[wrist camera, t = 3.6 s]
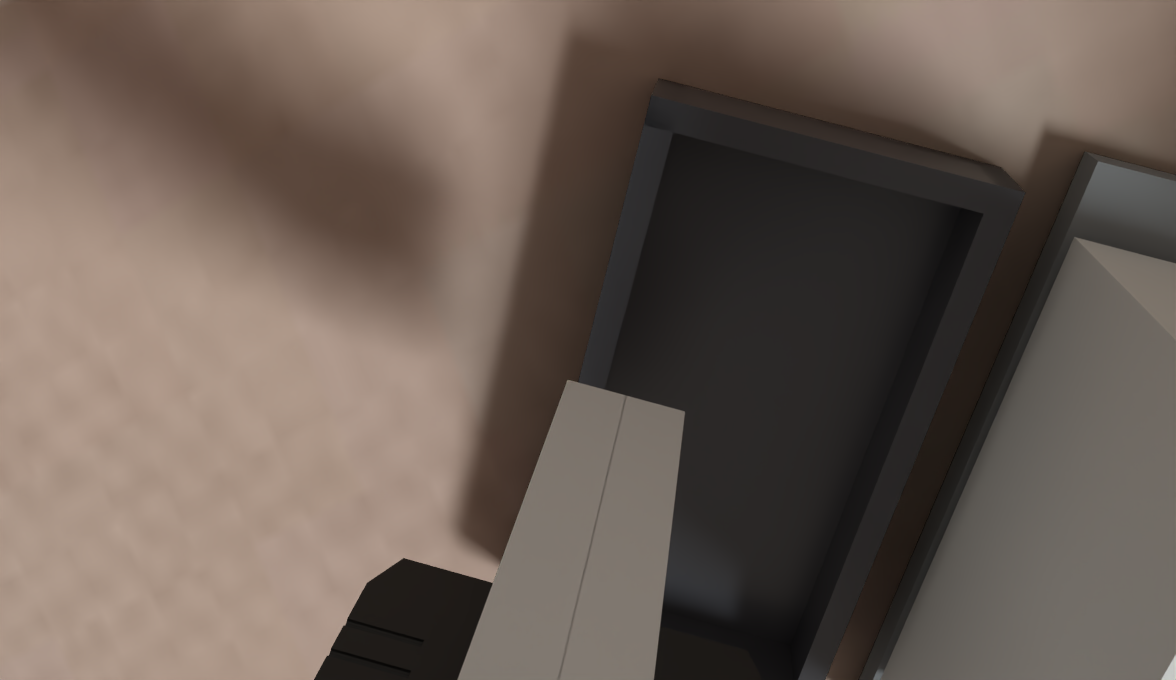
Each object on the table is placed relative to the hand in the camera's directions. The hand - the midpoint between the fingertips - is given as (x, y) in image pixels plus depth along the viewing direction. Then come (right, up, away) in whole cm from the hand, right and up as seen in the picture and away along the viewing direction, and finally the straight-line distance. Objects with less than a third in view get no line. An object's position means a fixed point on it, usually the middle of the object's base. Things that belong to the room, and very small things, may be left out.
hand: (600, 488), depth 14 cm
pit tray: (+2, +1, +3) cm, 4 cm away
